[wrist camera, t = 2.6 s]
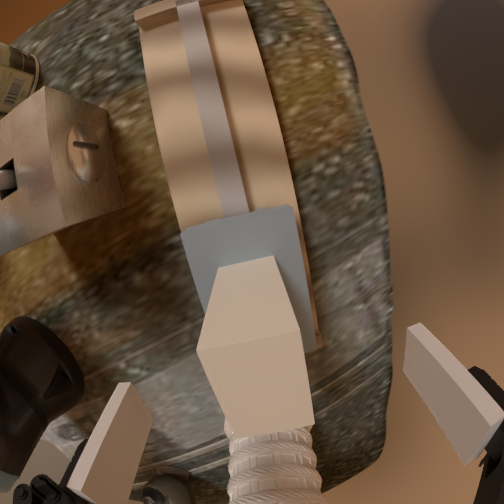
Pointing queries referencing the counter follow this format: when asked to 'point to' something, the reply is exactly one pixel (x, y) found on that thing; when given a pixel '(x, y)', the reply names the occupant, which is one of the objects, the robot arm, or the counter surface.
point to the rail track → (215, 114)
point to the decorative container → (273, 468)
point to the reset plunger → (7, 179)
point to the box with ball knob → (55, 167)
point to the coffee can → (16, 77)
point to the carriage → (254, 318)
